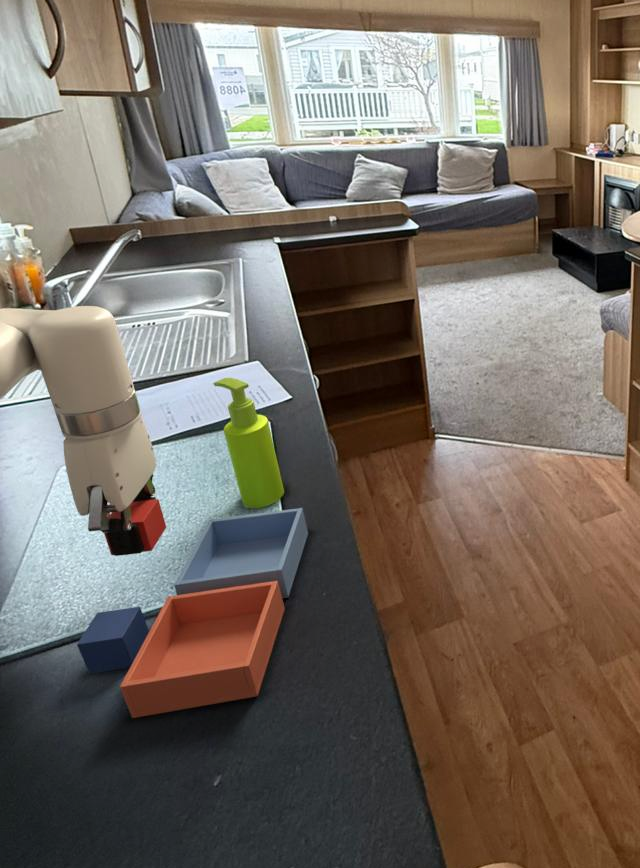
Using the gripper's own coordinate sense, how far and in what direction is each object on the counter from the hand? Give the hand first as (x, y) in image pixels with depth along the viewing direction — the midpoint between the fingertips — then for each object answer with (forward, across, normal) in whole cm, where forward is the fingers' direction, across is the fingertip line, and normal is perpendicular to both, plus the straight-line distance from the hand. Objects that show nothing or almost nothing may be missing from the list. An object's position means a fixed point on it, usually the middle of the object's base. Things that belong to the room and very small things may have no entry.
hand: (138, 537), depth 82 cm
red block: (+1, 0, 0) cm, 1 cm away
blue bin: (+7, 0, +12) cm, 14 cm away
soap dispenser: (+8, -17, +9) cm, 21 cm away
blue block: (+8, +11, +1) cm, 13 cm away
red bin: (+8, +14, +12) cm, 20 cm away
